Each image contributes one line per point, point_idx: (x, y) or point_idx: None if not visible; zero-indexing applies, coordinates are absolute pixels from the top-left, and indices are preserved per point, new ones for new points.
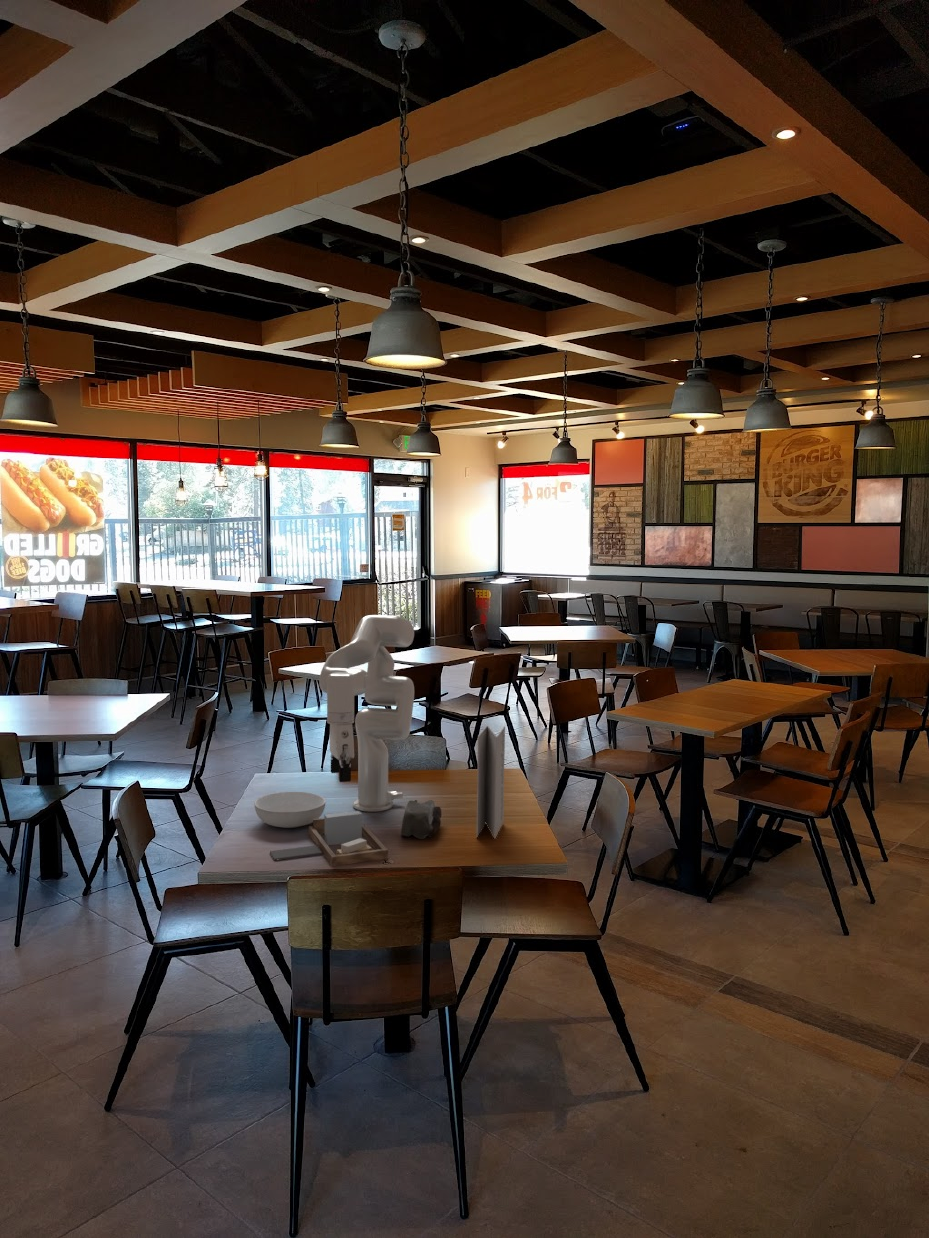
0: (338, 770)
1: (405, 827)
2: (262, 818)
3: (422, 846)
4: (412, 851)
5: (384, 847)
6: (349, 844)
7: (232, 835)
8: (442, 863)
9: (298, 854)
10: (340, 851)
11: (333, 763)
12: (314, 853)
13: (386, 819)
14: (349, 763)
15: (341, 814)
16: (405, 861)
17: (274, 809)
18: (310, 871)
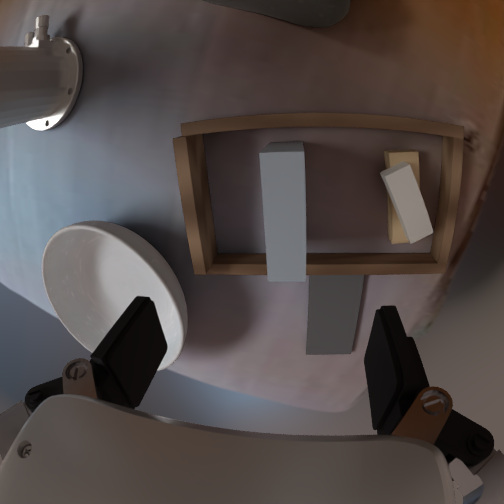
0: (152, 323)
1: (344, 13)
2: None
3: (394, 8)
4: (424, 46)
5: (446, 126)
6: (420, 222)
7: (189, 374)
8: (499, 36)
9: (351, 315)
10: (406, 238)
11: (142, 383)
12: (362, 285)
13: (138, 46)
14: (482, 432)
15: (285, 228)
16: (477, 96)
17: (87, 305)
18: (435, 304)
